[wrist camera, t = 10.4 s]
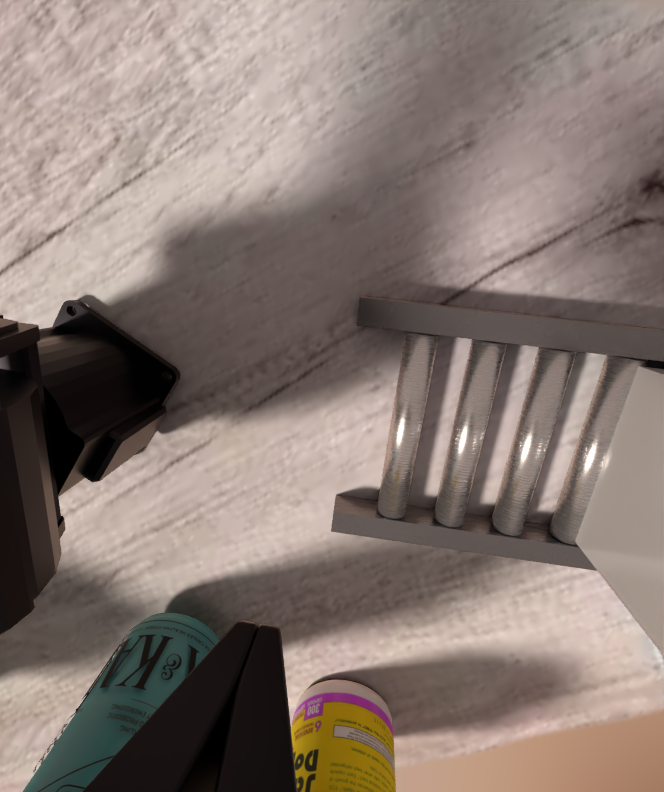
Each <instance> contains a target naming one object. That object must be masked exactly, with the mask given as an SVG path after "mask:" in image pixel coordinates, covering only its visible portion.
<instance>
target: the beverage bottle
mask: <svg viewBox="0 0 664 792" xmlns="http://www.w3.org/2000/svg"><path fill="white" fill-rule="evenodd" d="M132 629H133V628H132ZM132 629H131V630H132ZM129 634H130V635H128V638H127V639H126V641H124V642H123V643H124V644H123V645H121V648H120V649H119V651H118V648H119V647H120V645H119V646H118V648H117V649H116V651H115V652H114V653H113V655H114V654H115V653H116V655H115V657H114V658H113V660H112V657H113V655H112V656H111V658H110V659H109V661H110V660H111V661H110V662H109V661H108V662H107V664H108V663H109V664H108V665H107V664H106V665H105V667H106V666H107V667H106V668H105V667H104V668H103V670H104V669H105V670H104V671H103V670H102V671H101V673H102V672H103V673H102V674H101V673H100V674H101V676H100V674H99V676H100V677H99V676H98V677H99V678H98V677H97V678H96V680H97V679H98V680H97V681H96V680H95V681H94V683H95V682H96V683H95V684H94V683H93V684H92V686H93V685H94V686H93V687H92V686H91V687H90V689H91V688H92V689H91V690H90V689H89V690H88V691H87V693H86V694H85V696H86V695H87V696H86V697H85V696H84V697H85V699H84V700H83V702H82V703H81V705H80V706H79V708H78V709H76V712H75V713H76V714H75V716H74V717H73V718H72V720H71V721H70V723H69V724H68V726H67V727H66V726H64V728H65V727H66V729H65V730H64V732H63V731H62V732H63V733H62V732H61V734H62V735H61V736H60V738H59V739H58V741H57V738H55V742H56V743H55V742H54V746H53V748H52V749H51V751H50V752H49V754H48V755H47V757H46V758H45V760H44V755H45V754H44V755H43V759H42V758H41V759H42V762H43V763H42V762H41V766H40V767H39V768H38V770H37V771H36V773H35V774H34V776H33V777H32V779H31V780H30V782H29V783H28V785H27V786H26V788H25V789H24V790H23V792H82V791H83V790H84V789H85V788H86V787H87V786H88V784H89V783H90V782H91V781H92V780H93V779H94V778H95V777H96V776H97V775H98V773H99V772H100V771H101V770H102V769H103V768H104V767H105V766H106V765H107V764H108V762H109V761H110V760H111V759H112V758H113V757H114V756H115V755H116V754H117V753H118V751H119V750H120V749H121V748H122V747H123V746H124V745H125V744H126V743H127V742H128V740H129V739H130V738H131V737H132V736H133V735H134V734H135V733H136V732H137V731H138V730H139V728H140V727H141V726H142V725H143V724H144V723H145V722H146V721H147V720H148V719H149V717H150V716H151V715H152V714H153V713H154V712H155V711H156V710H157V709H158V708H159V706H160V705H161V704H162V703H163V702H164V701H165V700H166V699H167V698H168V697H169V695H170V694H171V693H172V692H173V691H174V690H175V689H176V688H177V687H178V686H179V685H180V683H181V682H182V681H183V680H184V679H185V678H186V677H187V676H188V675H189V674H190V672H191V671H192V670H193V669H194V668H195V667H196V666H197V665H198V664H199V663H200V661H201V660H202V659H203V658H204V657H205V656H206V655H207V654H208V653H209V652H210V650H211V649H212V648H213V647H214V646H215V645H216V644H217V643H218V642H219V641H220V639H219V638H218V636H217V635H216V634H215V633H214V632H213V631H212V630H211V629H210V628H209V627H208V626H206V625H205V624H204V623H202V622H200V621H199V620H197V619H195V618H192V617H190V616H187V615H183V614H179V613H160V614H156V615H152V616H150V617H148V618H146V619H145V620H143V621H142V622H141V623H140V624H139V625H137V626H135V628H134V629H133V631H132V632H131V633H129ZM126 635H127V634H126ZM126 637H127V636H126ZM126 637H125V638H126ZM123 640H124V639H123ZM123 640H122V641H123ZM89 691H90V692H89ZM88 692H89V693H88ZM84 697H83V698H84ZM83 698H82V699H83ZM73 715H74V714H73ZM73 715H71V717H72V716H73ZM69 718H70V717H69ZM64 725H65V724H64ZM66 725H67V724H66ZM52 745H53V743H52ZM50 746H51V745H50ZM50 746H49V748H50ZM49 748H48V749H49ZM48 749H47V750H48ZM47 753H48V751H47ZM41 759H40V760H41ZM40 760H39V762H40ZM43 760H44V761H43ZM37 764H38V763H37ZM35 768H36V767H35ZM34 770H36V769H34ZM34 772H35V771H34Z"/></svg>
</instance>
